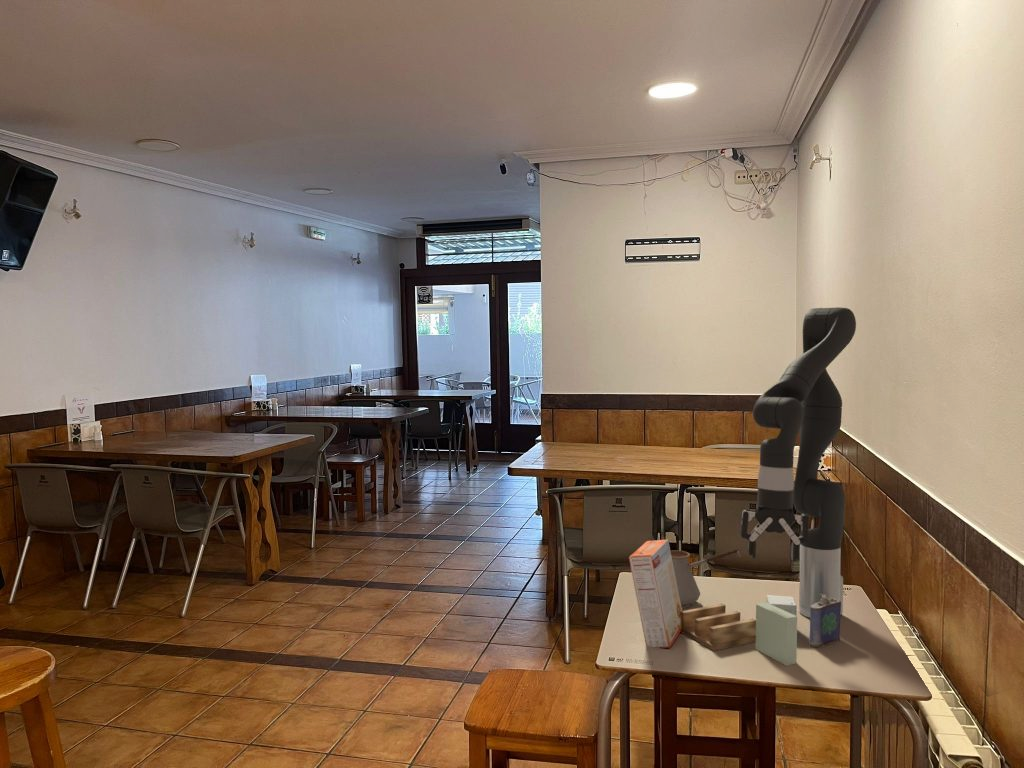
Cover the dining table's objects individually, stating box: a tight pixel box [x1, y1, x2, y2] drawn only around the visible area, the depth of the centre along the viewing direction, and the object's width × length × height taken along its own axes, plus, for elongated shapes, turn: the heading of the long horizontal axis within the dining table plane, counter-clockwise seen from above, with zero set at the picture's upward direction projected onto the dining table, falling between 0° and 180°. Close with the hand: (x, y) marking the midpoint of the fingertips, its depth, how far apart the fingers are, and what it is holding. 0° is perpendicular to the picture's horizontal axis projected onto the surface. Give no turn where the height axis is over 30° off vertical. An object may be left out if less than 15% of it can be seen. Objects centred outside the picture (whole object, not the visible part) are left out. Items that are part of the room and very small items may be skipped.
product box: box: [766, 594, 798, 616], centre depth 168 cm, size 6×6×7 cm
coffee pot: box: [670, 548, 742, 609], centre depth 186 cm, size 21×12×15 cm, turn 75°
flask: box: [809, 594, 841, 649], centre depth 162 cm, size 9×3×11 cm, turn 121°
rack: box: [680, 603, 756, 651], centre depth 166 cm, size 13×13×4 cm
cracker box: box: [628, 539, 683, 649], centre depth 166 cm, size 14×6×21 cm, turn 153°
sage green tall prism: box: [755, 602, 798, 666], centre depth 155 cm, size 3×9×10 cm, turn 23°
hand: (773, 558), depth 162 cm, fingers open, 8 cm apart
